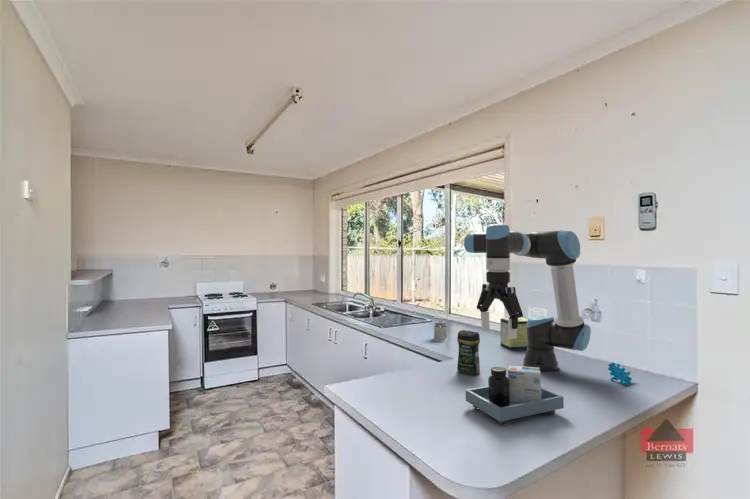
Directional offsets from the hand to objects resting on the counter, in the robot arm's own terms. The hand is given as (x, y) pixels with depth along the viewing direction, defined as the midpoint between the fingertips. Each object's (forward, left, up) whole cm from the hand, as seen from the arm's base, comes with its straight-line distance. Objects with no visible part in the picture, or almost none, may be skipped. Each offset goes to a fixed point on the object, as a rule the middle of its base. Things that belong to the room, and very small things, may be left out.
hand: (498, 334), depth 130 cm
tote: (0, +6, -27) cm, 27 cm away
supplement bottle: (0, 0, -24) cm, 24 cm away
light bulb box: (0, +11, -24) cm, 26 cm away
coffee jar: (-41, +17, -27) cm, 52 cm away
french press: (-101, +39, -27) cm, 112 cm away
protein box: (-68, +69, -27) cm, 101 cm away
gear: (-5, +66, -27) cm, 72 cm away
